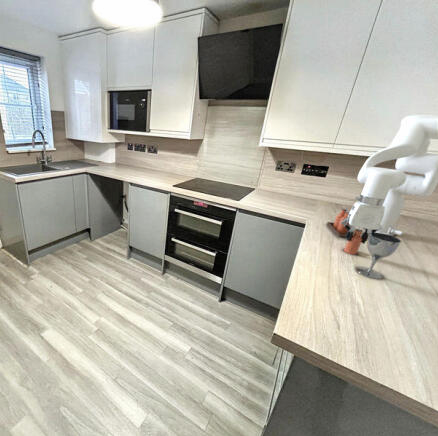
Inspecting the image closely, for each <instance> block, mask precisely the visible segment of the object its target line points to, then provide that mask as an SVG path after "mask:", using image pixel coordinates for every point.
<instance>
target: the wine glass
mask: <svg viewBox="0 0 438 436" xmlns="http://www.w3.org/2000/svg"><path fill="white" fill-rule="evenodd" d="M401 243H402V241H401V240H400V239H399V238H397V237H396V236H394V235H386V234H381V233H371V234H370V235H369V237H368V239H367V243H366V246H367V247H366V249H367V251H368V253H369V254H370V256H371V263H370V267H369V268H365V267H357V268H356V271H357V272H358V273H359V274H361V275H363V276H365V277H368V278H372V279H376V280H379V279H382V278H383V277H382V275H381V274H380V273H379V272H377V271H376V270H373V269H374V267H375V265H376V264H377V263H378V261H380V260H382V259H385V258H387V257H390V256H392V255H393V254H394V253H396V251H397V250H398V248H399V246H400V245H401Z"/></svg>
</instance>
